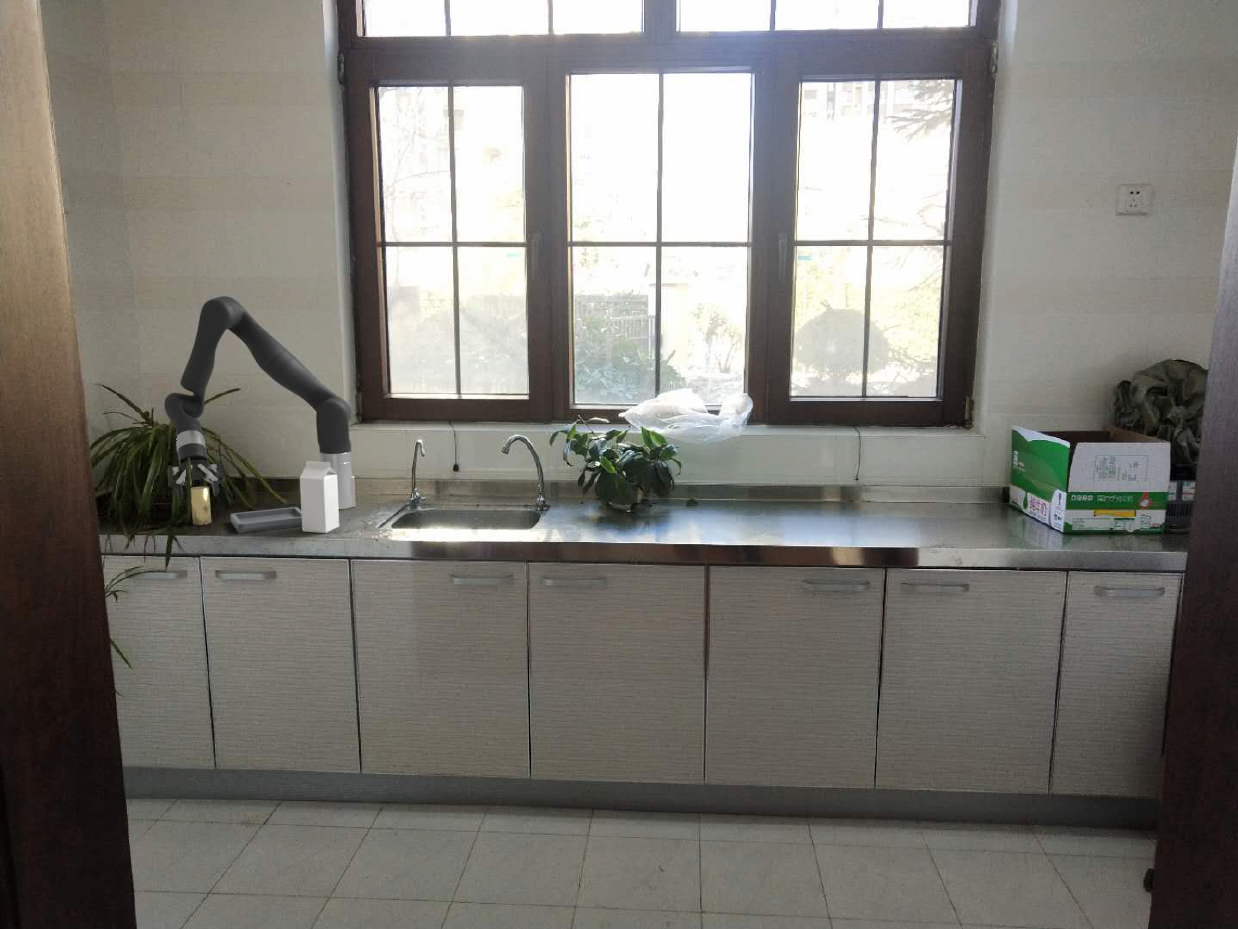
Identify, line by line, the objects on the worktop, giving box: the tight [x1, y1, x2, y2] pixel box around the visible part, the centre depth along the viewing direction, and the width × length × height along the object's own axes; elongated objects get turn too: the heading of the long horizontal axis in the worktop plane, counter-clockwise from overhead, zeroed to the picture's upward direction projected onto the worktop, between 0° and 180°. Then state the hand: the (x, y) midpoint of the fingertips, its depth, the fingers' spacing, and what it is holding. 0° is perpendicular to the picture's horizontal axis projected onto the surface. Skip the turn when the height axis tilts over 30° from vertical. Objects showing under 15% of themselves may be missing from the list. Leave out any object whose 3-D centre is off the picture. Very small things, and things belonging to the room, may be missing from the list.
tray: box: [229, 506, 302, 534], centre depth 238 cm, size 18×14×2 cm
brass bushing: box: [190, 486, 212, 526], centre depth 237 cm, size 5×5×10 cm
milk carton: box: [299, 460, 340, 534], centre depth 232 cm, size 7×7×19 cm
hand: (199, 495), depth 239 cm, fingers open, 8 cm apart
